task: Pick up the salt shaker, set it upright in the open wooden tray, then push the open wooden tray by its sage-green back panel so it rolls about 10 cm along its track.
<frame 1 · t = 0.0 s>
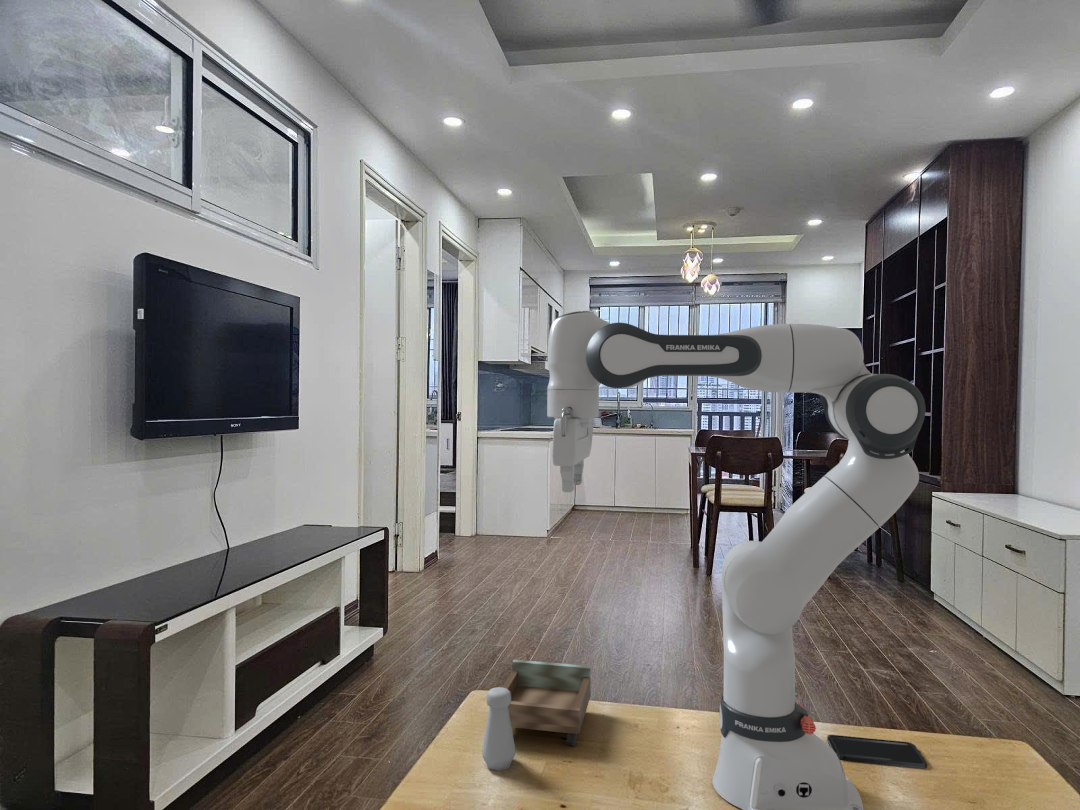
hand: (572, 488, 114), 48 cm above the table, tool pointing down, fingers open, 8 cm apart
open wooden tray: (544, 701, 129), point 5 cm above the table, slide at 0.0 cm
phone: (875, 756, 120), on the table
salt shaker: (498, 766, 115), on the table
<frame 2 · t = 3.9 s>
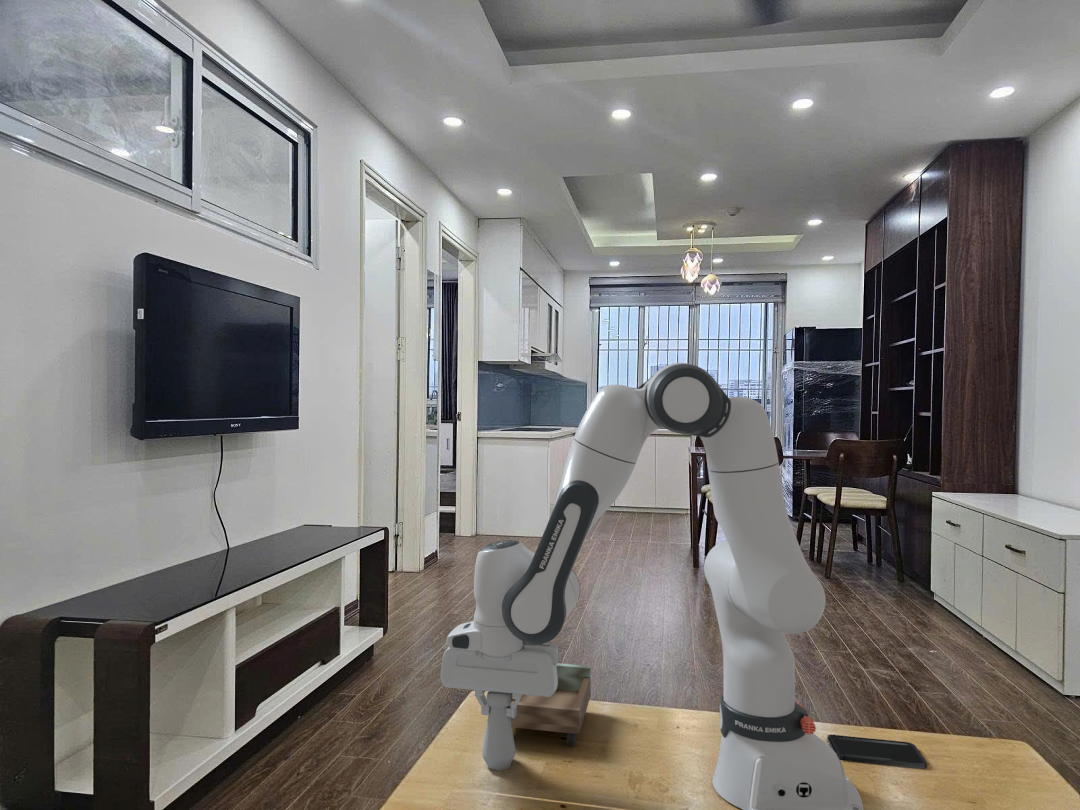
hand: (498, 715, 115), 9 cm above the table, tool pointing down, fingers closed on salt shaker, 3 cm apart
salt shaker: (498, 766, 115), on the table, touching gripper
everything else where it was.
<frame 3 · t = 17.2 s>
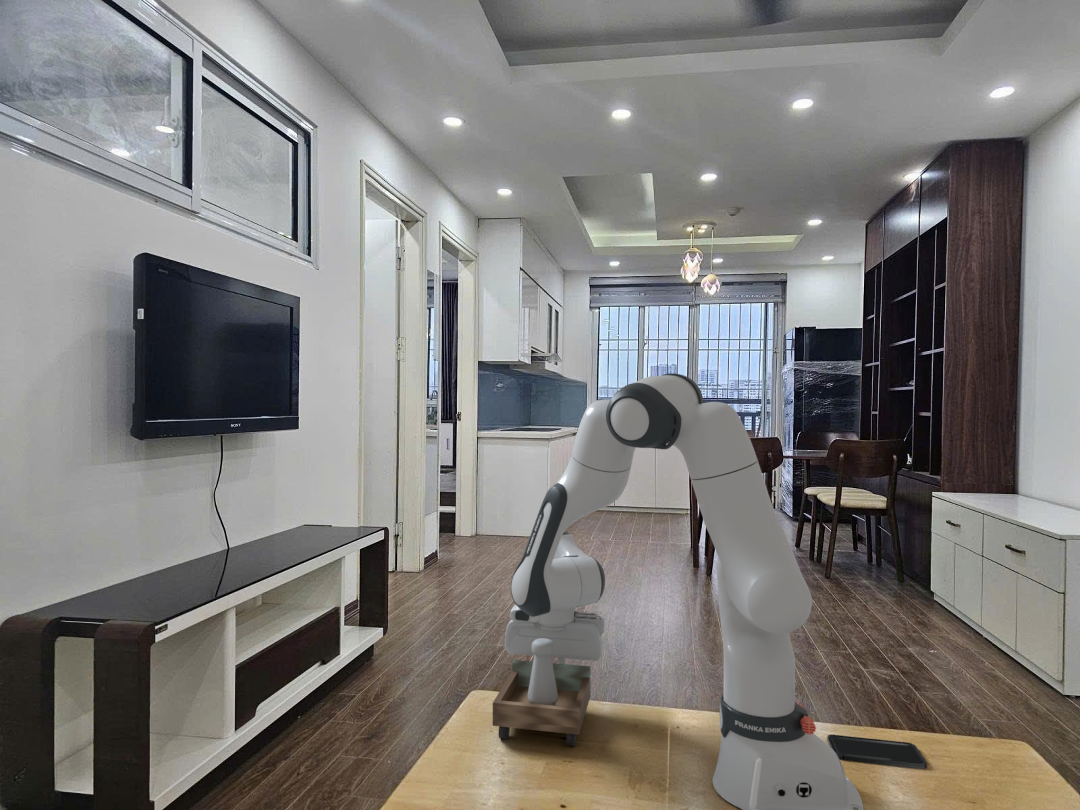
hand: (553, 677, 137), 6 cm above the table, tool pointing down, fingers closed, pressing on open wooden tray
open wooden tray: (543, 702, 129), point 5 cm above the table, slide at 0.2 cm, touching gripper, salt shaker
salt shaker: (542, 709, 127), point 4 cm above the table, touching open wooden tray
everything else where it was.
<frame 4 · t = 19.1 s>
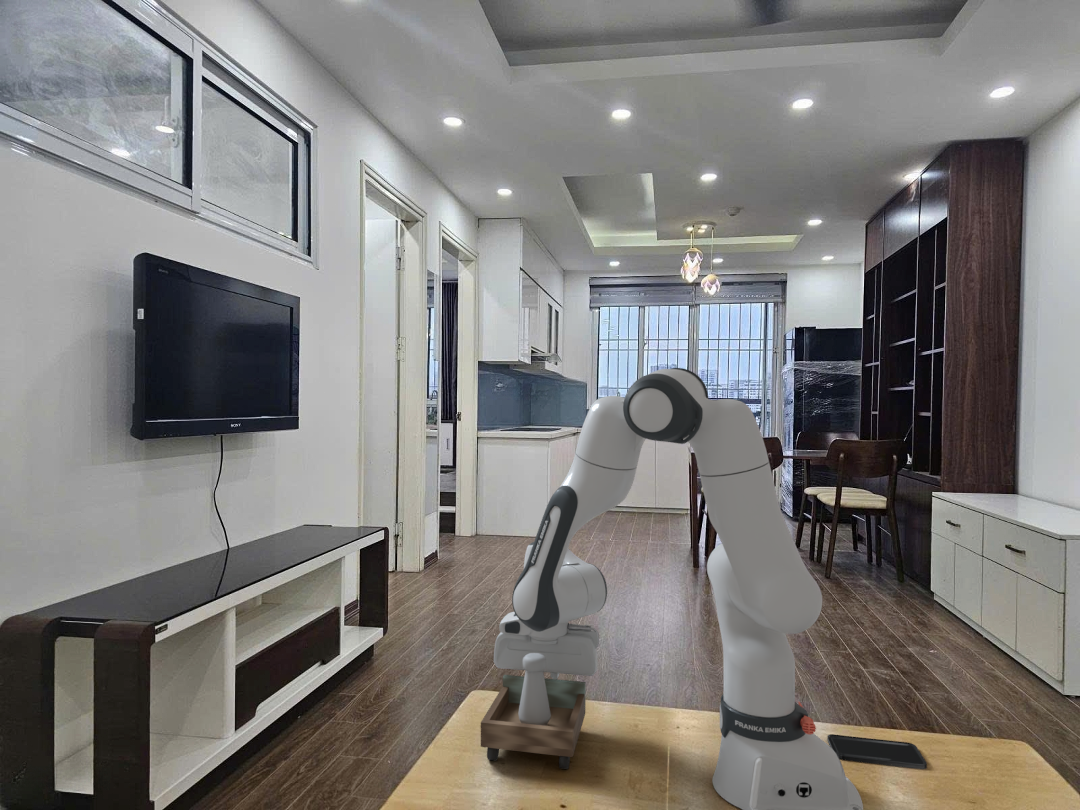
hand: (545, 693, 130), 6 cm above the table, tool pointing down, fingers closed, pressing on open wooden tray
open wooden tray: (535, 720, 121), point 5 cm above the table, slide at 7.8 cm, touching gripper, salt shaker
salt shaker: (534, 729, 119), point 4 cm above the table, touching open wooden tray
everything else where it was.
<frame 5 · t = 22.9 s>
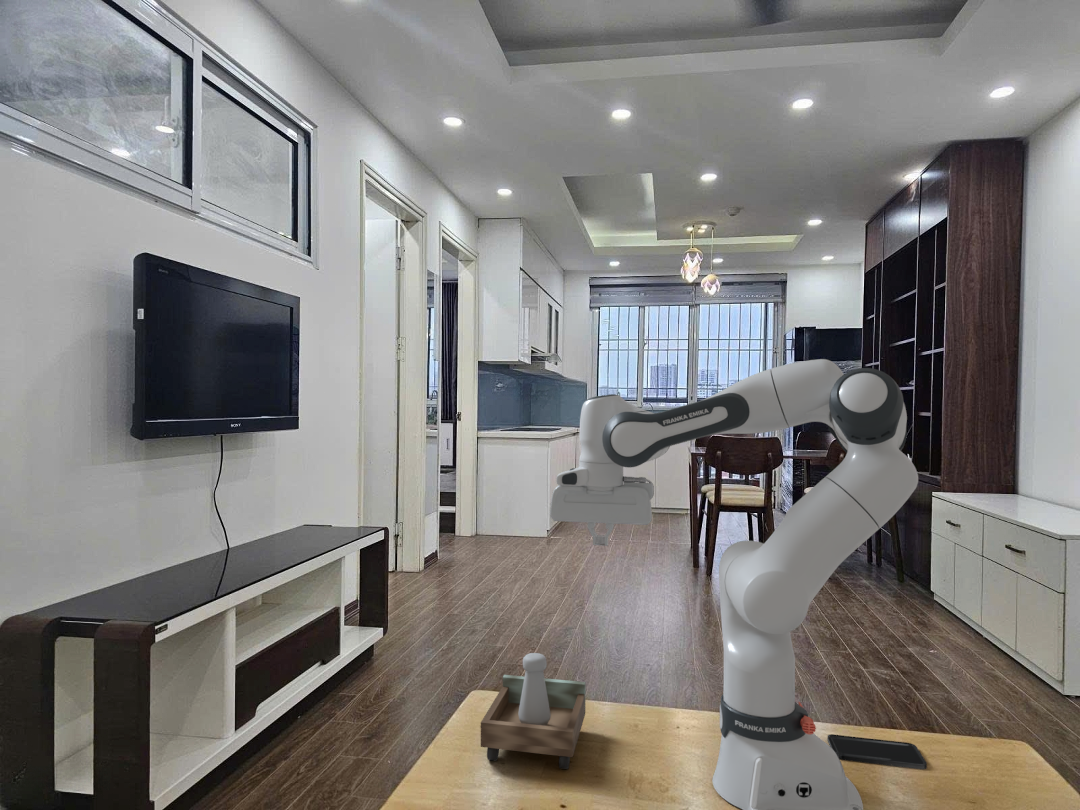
hand: (600, 545, 133), 34 cm above the table, tool pointing down, fingers closed
open wooden tray: (535, 721, 121), point 5 cm above the table, slide at 7.9 cm, touching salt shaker
everything else where it was.
at the end: open wooden tray slide at 7.9 cm; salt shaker inside the target area (1.6 cm from its centre), point 4.3 cm above the table; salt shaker tilted 0° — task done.
